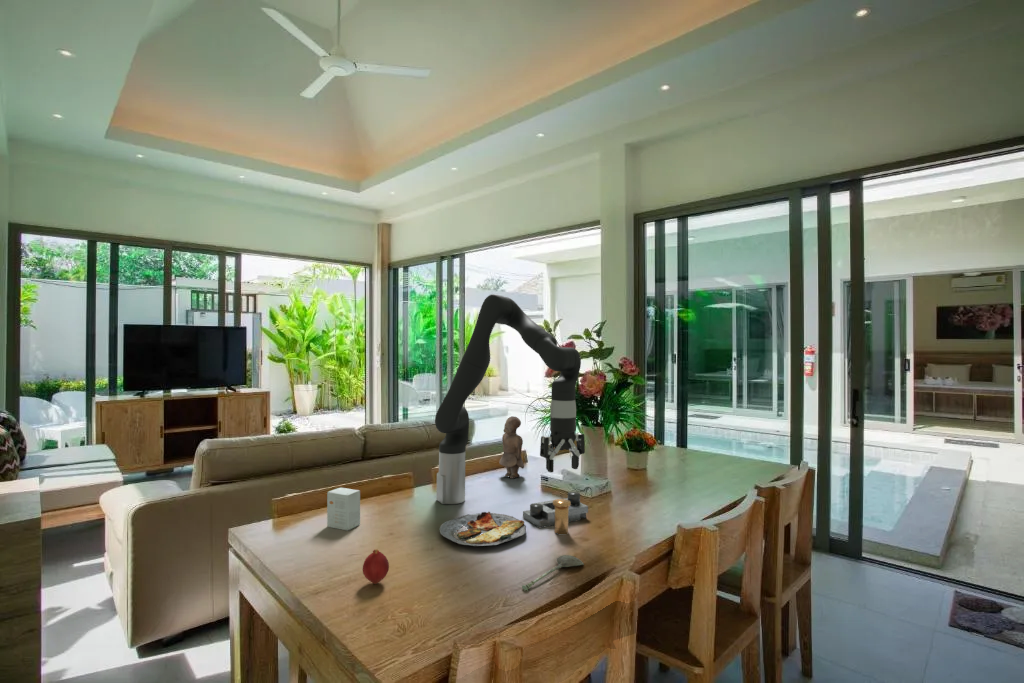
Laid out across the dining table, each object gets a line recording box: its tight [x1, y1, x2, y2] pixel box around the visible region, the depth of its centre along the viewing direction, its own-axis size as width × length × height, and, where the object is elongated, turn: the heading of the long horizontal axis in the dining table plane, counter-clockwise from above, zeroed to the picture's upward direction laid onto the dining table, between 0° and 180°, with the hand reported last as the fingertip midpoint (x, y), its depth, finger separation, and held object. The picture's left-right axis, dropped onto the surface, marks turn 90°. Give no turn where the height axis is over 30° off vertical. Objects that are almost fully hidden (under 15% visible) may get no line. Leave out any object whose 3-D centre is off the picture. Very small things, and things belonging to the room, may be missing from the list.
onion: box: [362, 548, 390, 585], centre depth 118 cm, size 6×6×8 cm
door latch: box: [522, 491, 589, 528], centre depth 163 cm, size 18×10×7 cm, turn 118°
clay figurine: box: [498, 416, 525, 479], centre depth 212 cm, size 13×10×25 cm
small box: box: [326, 486, 361, 531], centre depth 154 cm, size 8×6×10 cm
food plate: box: [439, 511, 527, 548], centre depth 149 cm, size 25×23×4 cm
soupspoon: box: [521, 554, 585, 592], centre depth 123 cm, size 22×3×7 cm
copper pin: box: [553, 498, 571, 535], centre depth 151 cm, size 5×5×9 cm
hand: (562, 470), depth 151 cm, fingers open, 8 cm apart
